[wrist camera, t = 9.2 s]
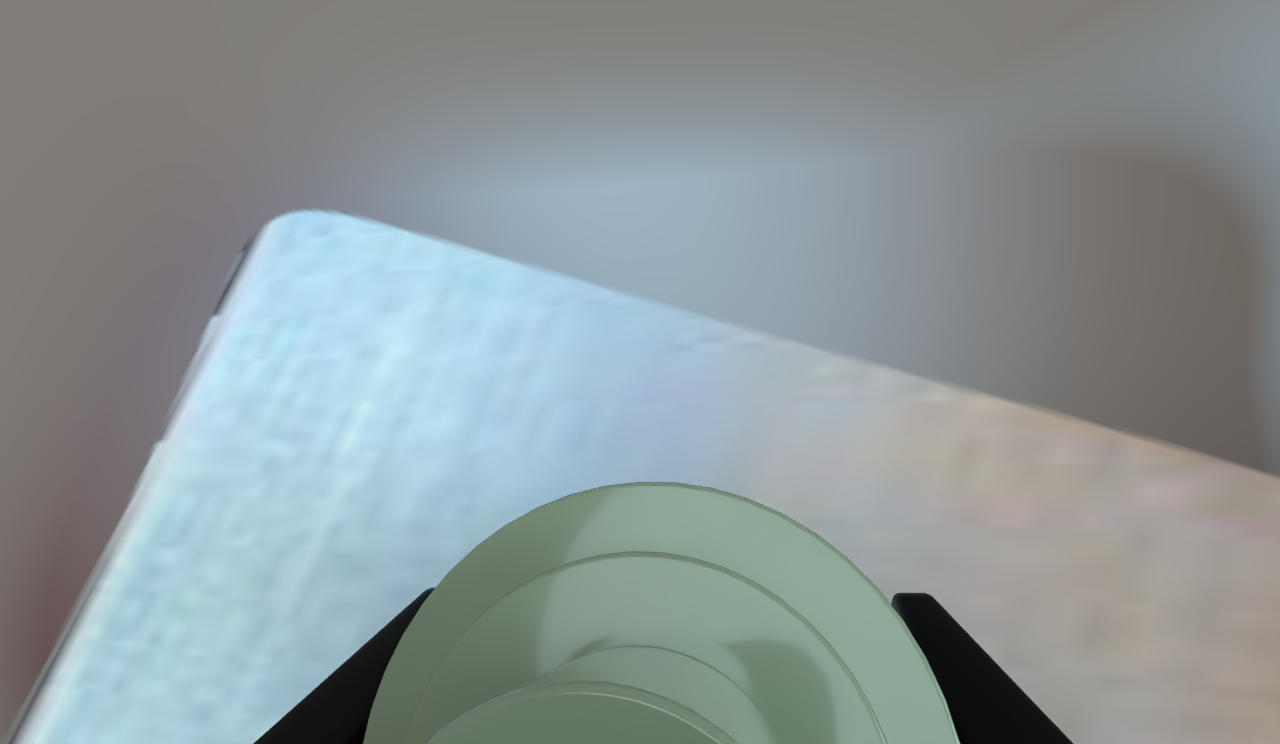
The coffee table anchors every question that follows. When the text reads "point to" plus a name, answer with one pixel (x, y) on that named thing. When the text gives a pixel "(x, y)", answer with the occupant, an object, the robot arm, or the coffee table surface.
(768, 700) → the capped bottle
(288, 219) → the coffee table surface
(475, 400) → the coffee table surface
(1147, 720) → the coffee table surface
